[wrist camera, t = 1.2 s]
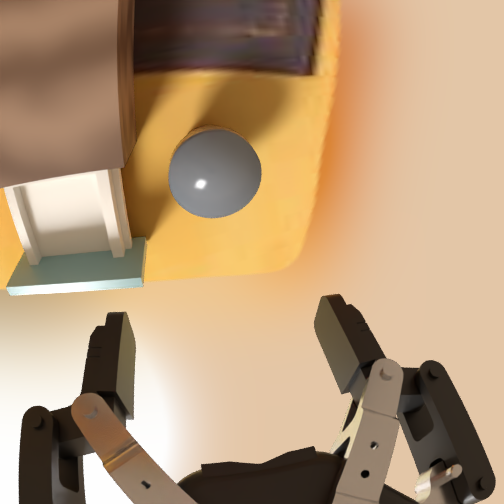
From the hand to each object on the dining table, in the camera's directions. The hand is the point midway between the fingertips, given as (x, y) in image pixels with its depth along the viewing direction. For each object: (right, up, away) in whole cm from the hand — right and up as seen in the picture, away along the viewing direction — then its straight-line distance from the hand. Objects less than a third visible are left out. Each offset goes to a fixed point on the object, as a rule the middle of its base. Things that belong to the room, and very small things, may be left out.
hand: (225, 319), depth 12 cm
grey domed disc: (-2, +9, +10) cm, 13 cm away
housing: (-15, +18, +4) cm, 24 cm away
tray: (-15, +10, +10) cm, 21 cm away
